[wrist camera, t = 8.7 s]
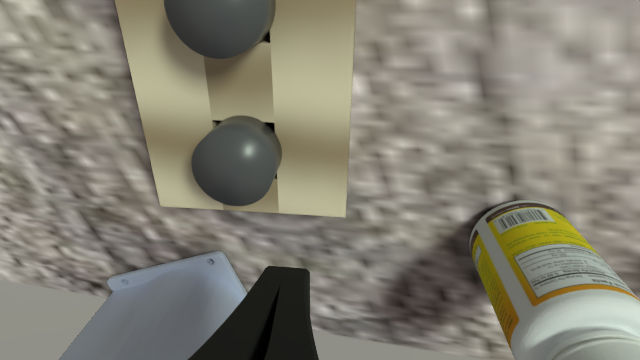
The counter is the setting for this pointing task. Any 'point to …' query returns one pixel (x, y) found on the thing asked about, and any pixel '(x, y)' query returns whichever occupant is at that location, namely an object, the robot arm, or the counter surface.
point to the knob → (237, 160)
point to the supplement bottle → (552, 287)
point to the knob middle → (220, 24)
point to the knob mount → (249, 101)
